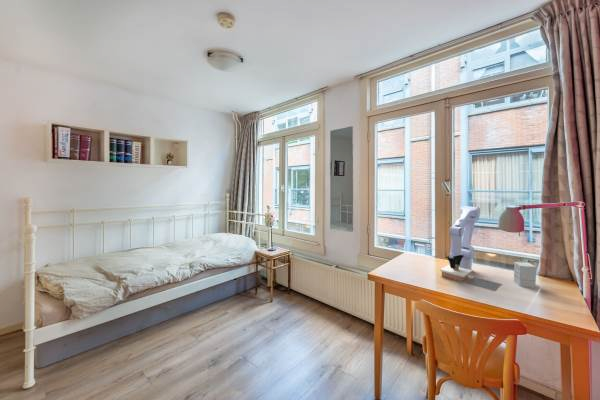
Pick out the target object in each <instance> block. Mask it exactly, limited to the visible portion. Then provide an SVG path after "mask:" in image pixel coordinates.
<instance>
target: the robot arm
mask: <svg viewBox="0 0 600 400" xmlns="http://www.w3.org/2000/svg"><path fill="white" fill-rule="evenodd" d="M460 214H461V215H460V218H458V219H457V220H456V221H455V223H454V225H452V226H450V227H449V238H450V251H449V254H448V255H447V256H446V258H447V260H448V262H449V265H450V267H451V268H453V269H455V266H456V265H459V267H460V268H464V269H468V270H472V272H473V271H474V270H473V269H472V267H473V264H472V263H473V261H472V260H473V259H474V258H475V248H474V247H473V246H472V245H471V243H472V238H473V233H474V228H475V223H476V222H478V221H479V219H480V216H481V208H480V207H479V206H468V205H467V206H465V205H463V206H461V207H460Z"/></svg>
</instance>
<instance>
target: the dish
mask: <svg viewBox="0 0 600 400" xmlns="http://www.w3.org/2000/svg"><path fill="white" fill-rule="evenodd" d="M441 277H443V278H447V279H450V280H454V281H458V282H463V281H464V280H466V279H467V278H468V277H469V274H468V275H466V276H465V277H461V276H457V275H453V274H450V273H446V272H442V271H441Z"/></svg>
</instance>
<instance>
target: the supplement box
mask: <svg viewBox="0 0 600 400" xmlns="http://www.w3.org/2000/svg"><path fill="white" fill-rule="evenodd" d="M513 266H514V267H513V269H514V270H513V282H514V283H515V284H516V285H518V286H519V287H525V288H533V289H534V288H536V282H537V266H535V265H534V264H532V263H530V262H523V261H522V262H521V261H514V265H513Z"/></svg>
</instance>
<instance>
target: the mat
mask: <svg viewBox="0 0 600 400" xmlns="http://www.w3.org/2000/svg"><path fill="white" fill-rule="evenodd" d="M466 284H467V285H471V286H474V287H478V288H481V289H485V290H489V291H491V292H496V291H498V289H499V288H500V287H502V285H503V283H498V282H494V281H492V280H487V279H483V278H480V277H475V276H473V277H472V278H471V279H469V280H468V281H466Z"/></svg>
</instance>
